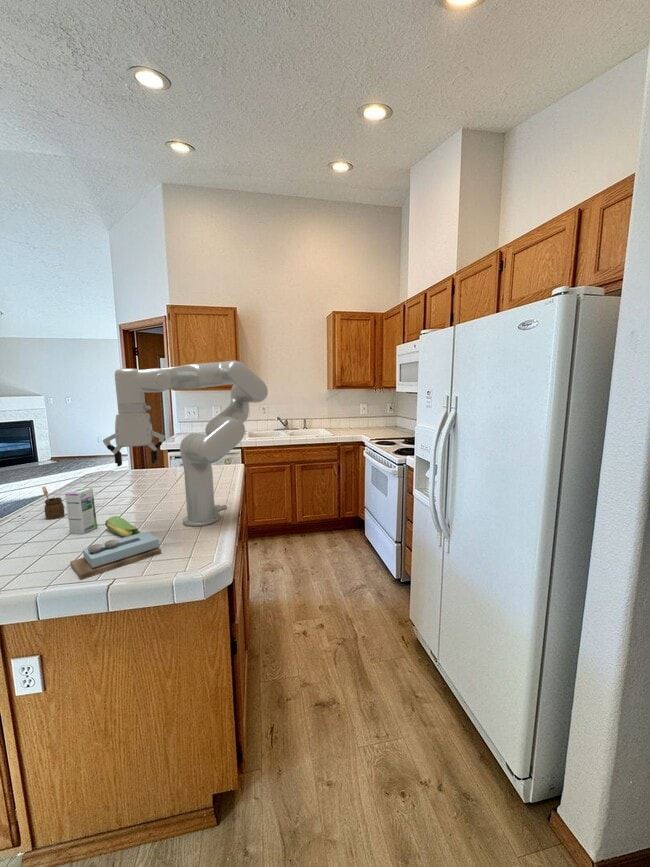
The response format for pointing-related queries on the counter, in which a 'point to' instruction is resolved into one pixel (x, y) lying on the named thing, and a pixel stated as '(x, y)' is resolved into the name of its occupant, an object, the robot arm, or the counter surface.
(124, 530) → the edible corn
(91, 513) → the syrup box
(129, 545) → the panel
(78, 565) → the board
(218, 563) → the counter surface
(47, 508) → the utensil holder
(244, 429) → the robot arm
